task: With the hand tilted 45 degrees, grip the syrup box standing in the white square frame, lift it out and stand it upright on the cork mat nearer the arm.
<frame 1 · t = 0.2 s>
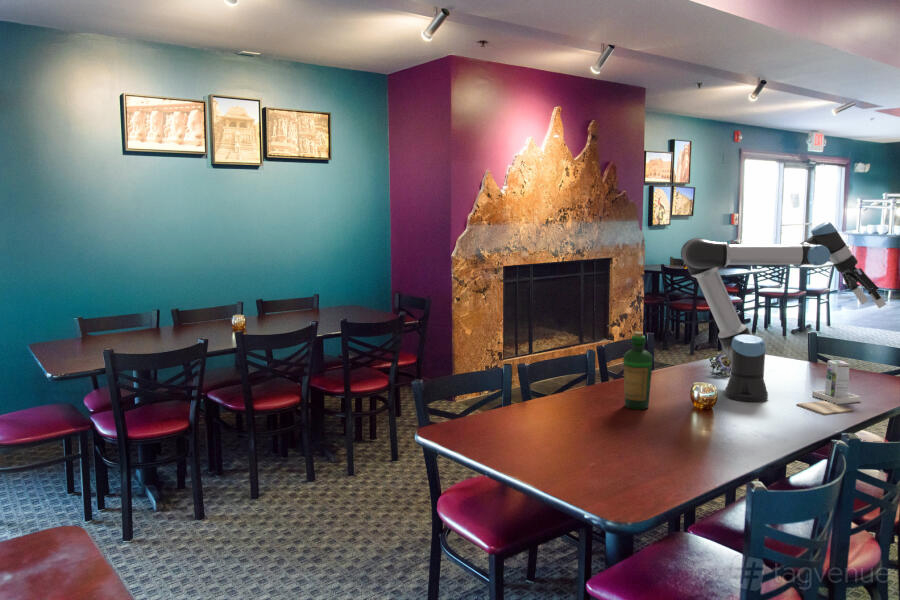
hand: (873, 304, 246), 35 cm above the table, tool tilted 35°, fingers open, 13 cm apart
passion flower: (720, 374, 283), on the table
bottle: (636, 407, 237), on the table
syrup box: (835, 399, 244), resting in white square frame
mat: (824, 408, 232), on the table
white square frame: (835, 398, 244), on the table
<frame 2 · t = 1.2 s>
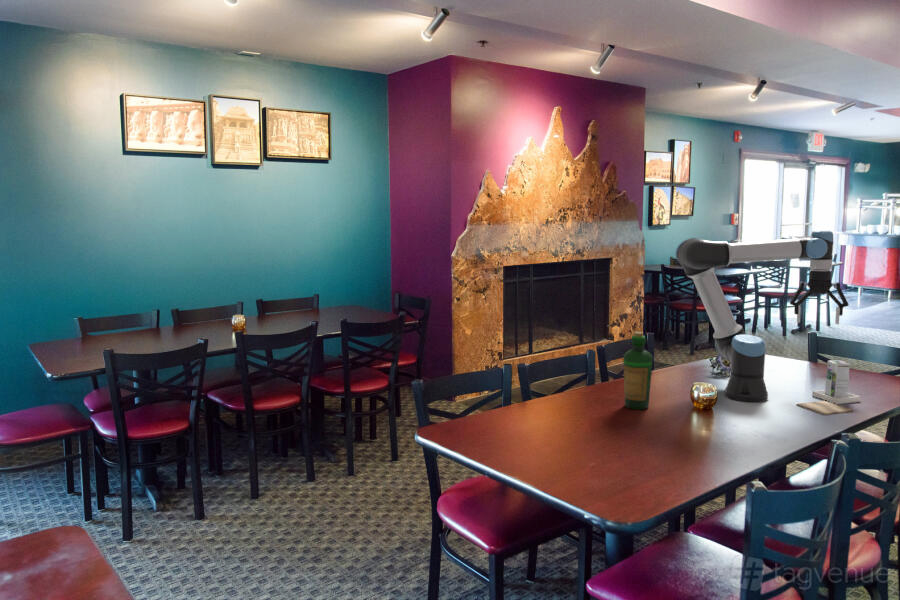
hand: (817, 323, 255), 27 cm above the table, tool pointing down, fingers open, 13 cm apart
nothing on the table moved.
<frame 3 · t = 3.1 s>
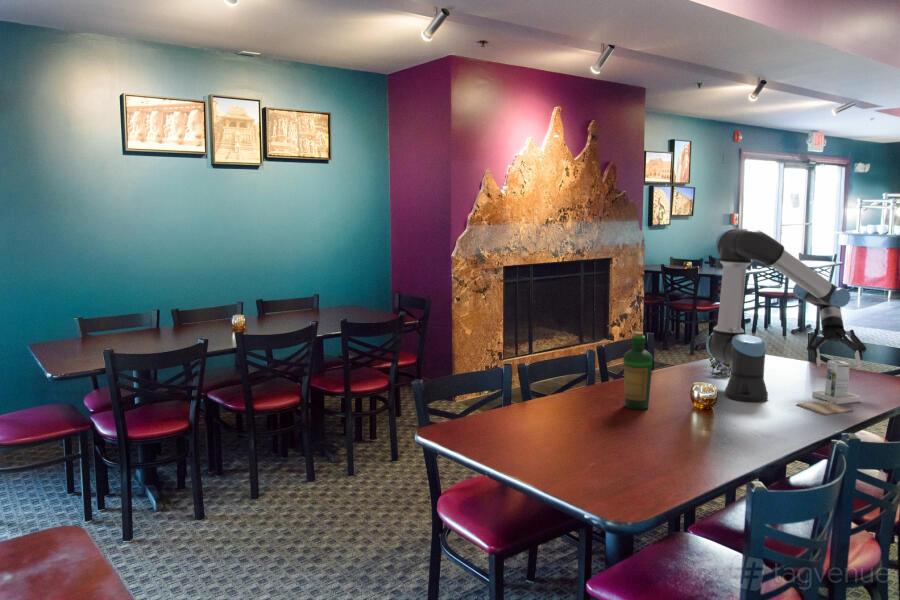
hand: (838, 365, 246), 12 cm above the table, tool tilted 45°, fingers open, 13 cm apart
nothing on the table moved.
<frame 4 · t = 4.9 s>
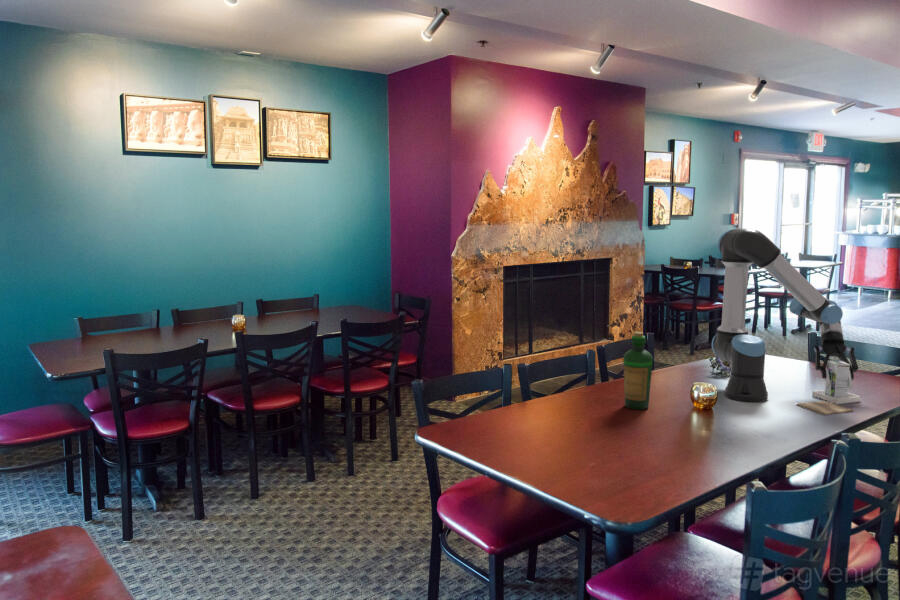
hand: (839, 386, 239), 6 cm above the table, tool tilted 45°, fingers closed on syrup box, 6 cm apart
syrup box: (835, 399, 244), resting in white square frame, touching gripper
everything else where it was.
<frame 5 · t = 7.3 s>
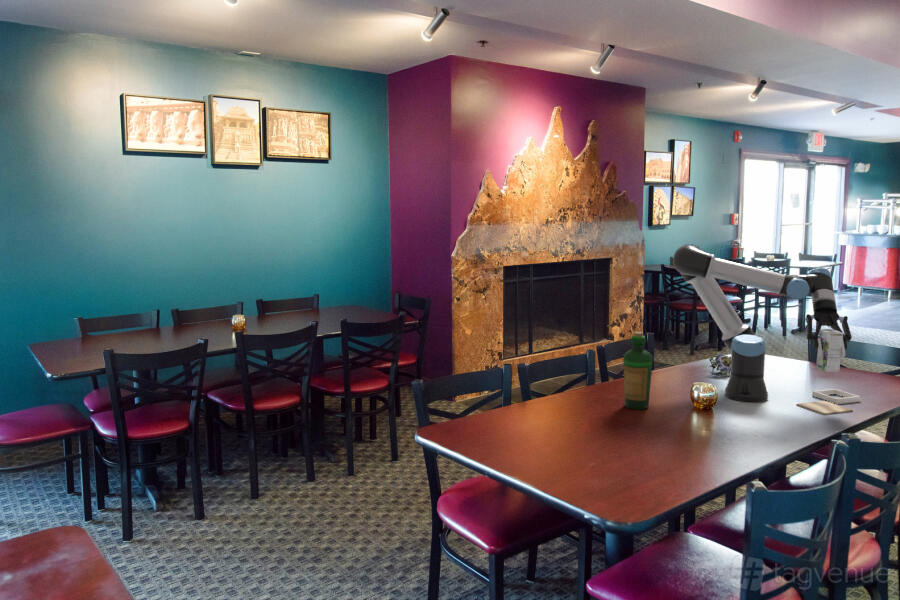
hand: (831, 355, 227), 20 cm above the table, tool tilted 45°, fingers closed on syrup box, 6 cm apart
syrup box: (827, 370, 231), point 14 cm above the table, touching gripper
everything else where it was.
when the fingers open (8 cm above the table, at t = 10.1 s): syrup box drops 1 cm, resting on mat.
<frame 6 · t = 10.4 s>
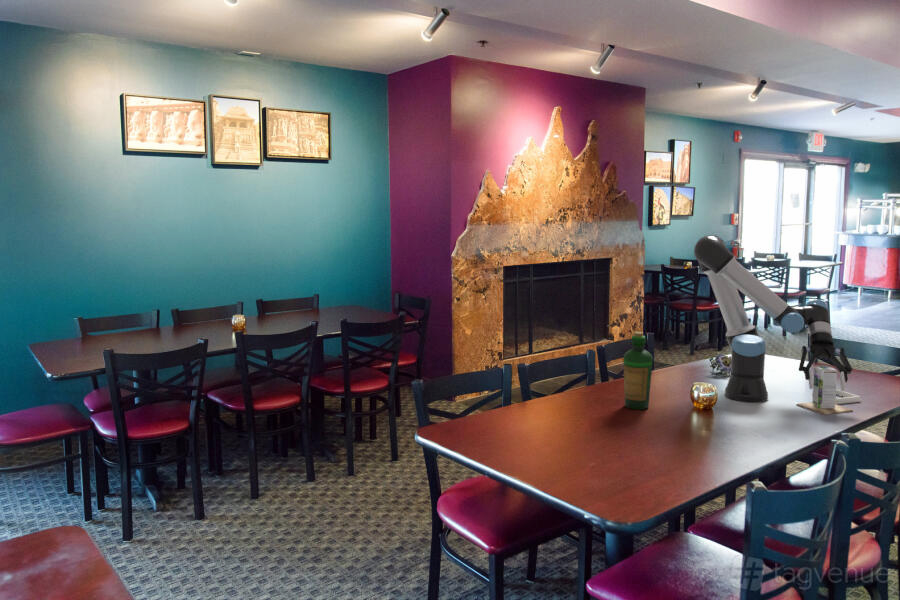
hand: (827, 388, 228), 8 cm above the table, tool tilted 45°, fingers open, 9 cm apart
syrup box: (823, 406, 232), point 1 cm above the table, touching mat
everything else where it was.
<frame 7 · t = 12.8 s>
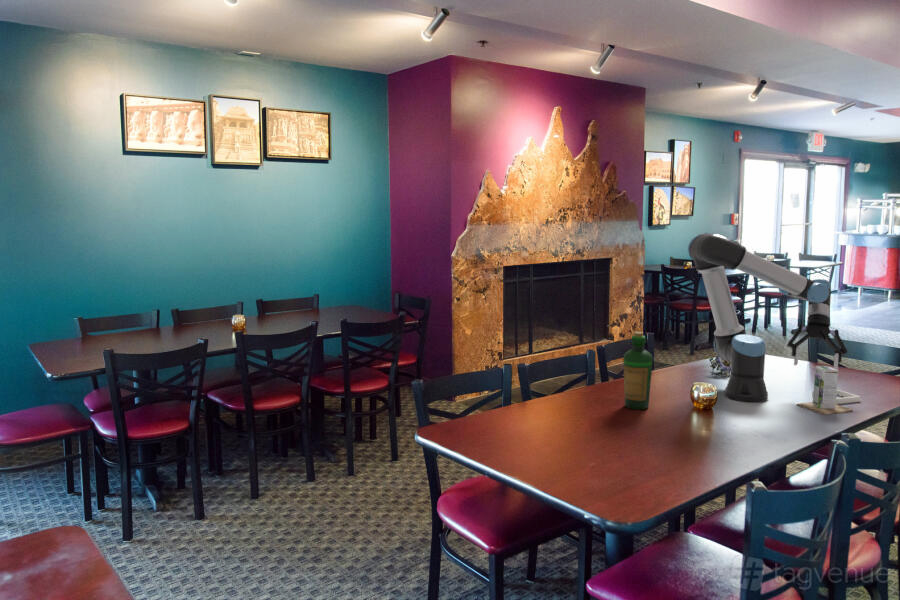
hand: (815, 367, 244), 12 cm above the table, tool tilted 35°, fingers open, 13 cm apart
nothing on the table moved.
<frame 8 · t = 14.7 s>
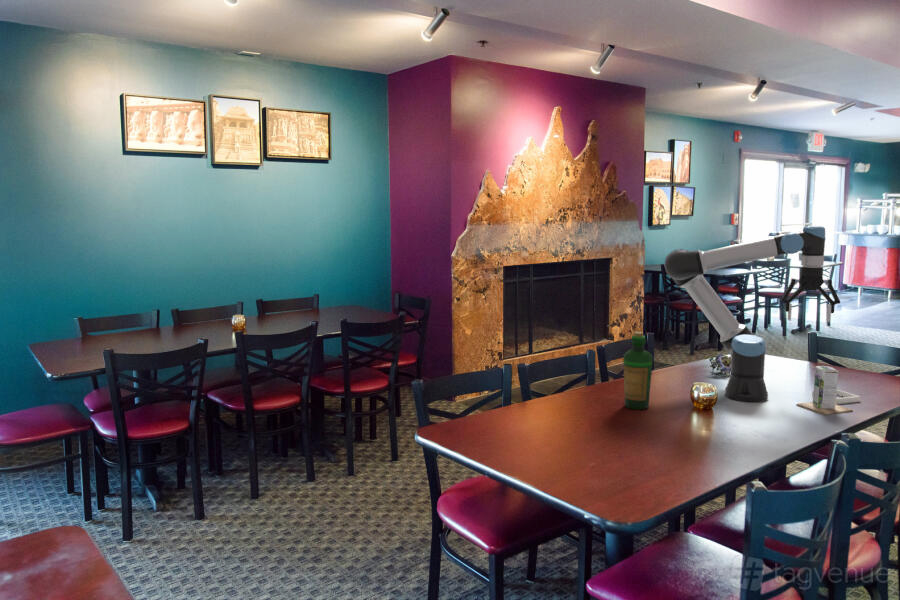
hand: (808, 320, 249), 29 cm above the table, tool pointing down, fingers open, 13 cm apart
nothing on the table moved.
at the end: syrup box inside the target area on the mat (0.1 cm from its centre), point 0.4 cm above the mat's base; syrup box tilted 0°; the gripper is holding nothing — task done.
